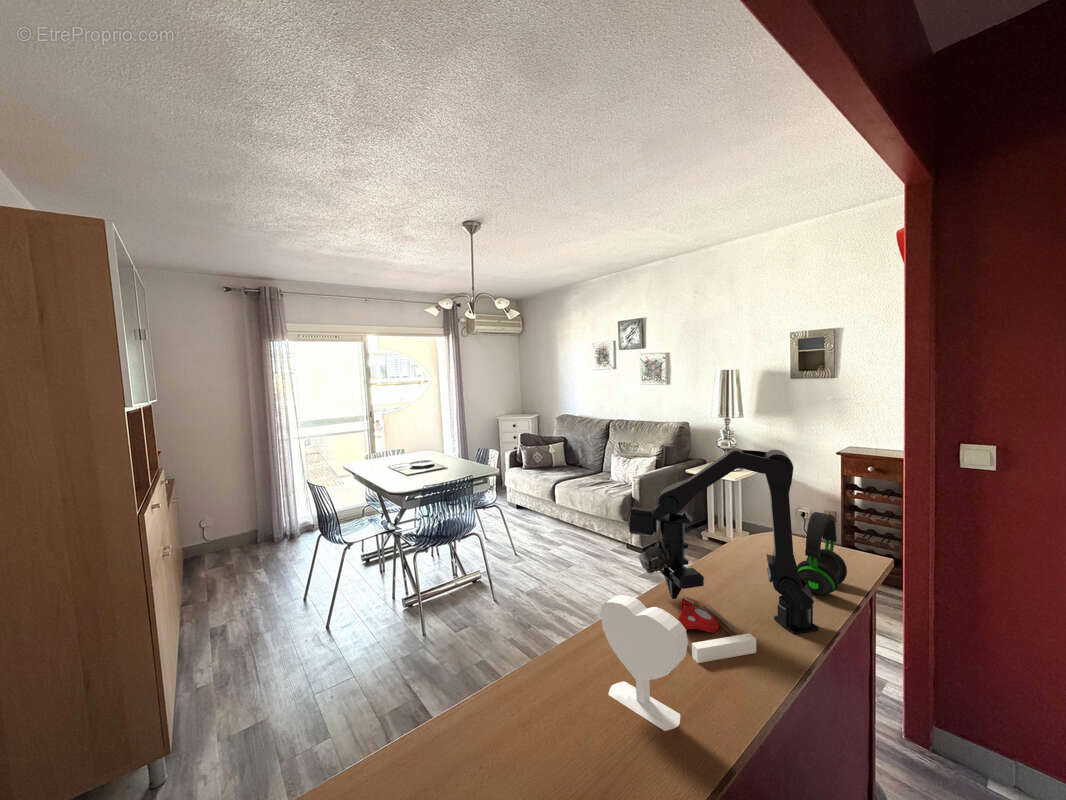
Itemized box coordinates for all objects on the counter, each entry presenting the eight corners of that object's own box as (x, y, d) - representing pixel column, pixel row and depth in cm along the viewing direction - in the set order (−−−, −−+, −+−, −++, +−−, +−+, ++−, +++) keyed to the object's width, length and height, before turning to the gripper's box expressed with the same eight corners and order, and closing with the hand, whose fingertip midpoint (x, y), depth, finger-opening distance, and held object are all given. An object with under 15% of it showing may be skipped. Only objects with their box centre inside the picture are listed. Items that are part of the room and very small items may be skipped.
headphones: (850, 584, 118) (851, 511, 117) (833, 606, 108) (833, 526, 107) (810, 573, 125) (811, 503, 124) (790, 592, 115) (791, 517, 114)
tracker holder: (729, 622, 101) (703, 627, 96) (722, 639, 102) (696, 645, 96) (687, 590, 111) (661, 592, 106) (681, 605, 112) (655, 609, 106)
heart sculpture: (691, 720, 75) (689, 617, 74) (675, 737, 71) (674, 630, 70) (616, 676, 86) (614, 586, 85) (599, 689, 83) (597, 596, 82)
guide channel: (708, 610, 108) (708, 598, 108) (756, 652, 92) (756, 638, 92) (657, 617, 106) (657, 605, 106) (697, 663, 89) (697, 648, 89)
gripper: (627, 528, 118) (628, 585, 119) (660, 556, 100) (661, 623, 101) (665, 524, 121) (666, 580, 121) (704, 551, 102) (705, 616, 103)
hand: (673, 598), depth 112 cm, fingers closed
